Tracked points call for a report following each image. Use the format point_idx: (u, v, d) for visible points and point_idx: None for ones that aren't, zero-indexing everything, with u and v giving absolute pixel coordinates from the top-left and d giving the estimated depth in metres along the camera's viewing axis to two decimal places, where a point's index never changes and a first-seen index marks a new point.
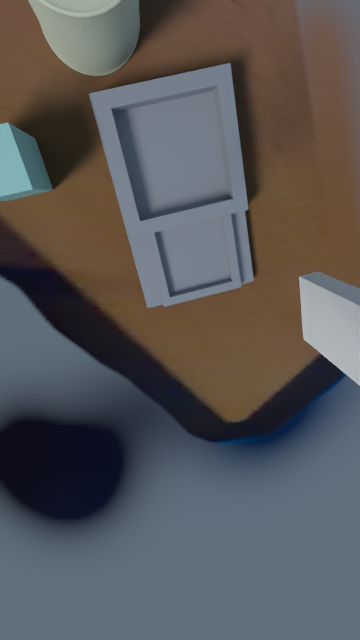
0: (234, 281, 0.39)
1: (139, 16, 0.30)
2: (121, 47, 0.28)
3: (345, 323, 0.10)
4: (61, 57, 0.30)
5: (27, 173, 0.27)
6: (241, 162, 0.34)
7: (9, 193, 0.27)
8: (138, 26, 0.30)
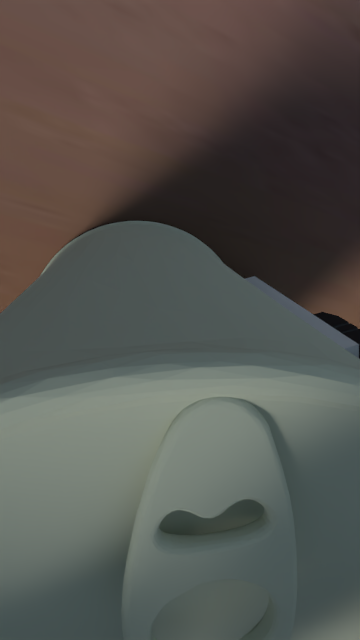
0: None
1: None
2: None
3: None
4: None
5: None
6: None
7: None
8: None
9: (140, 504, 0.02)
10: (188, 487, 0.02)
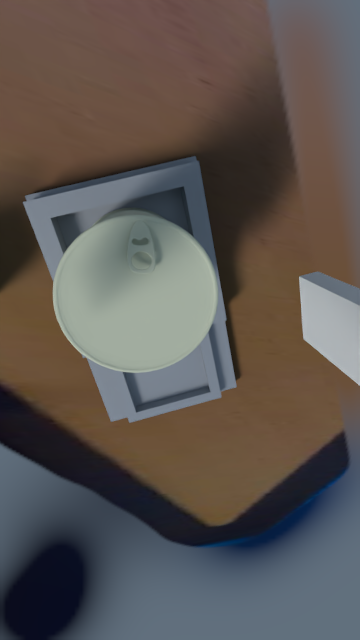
0: (213, 392, 0.33)
1: None
2: None
3: (345, 323, 0.10)
4: None
5: None
6: (216, 270, 0.28)
7: None
8: None
9: (129, 236, 0.16)
10: (135, 233, 0.16)
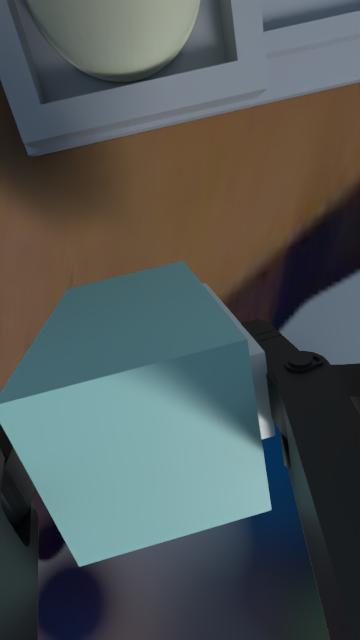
0: None
1: None
2: None
3: None
4: (184, 37, 0.17)
5: (183, 351, 0.06)
6: None
7: (255, 418, 0.07)
8: None
9: None
10: None
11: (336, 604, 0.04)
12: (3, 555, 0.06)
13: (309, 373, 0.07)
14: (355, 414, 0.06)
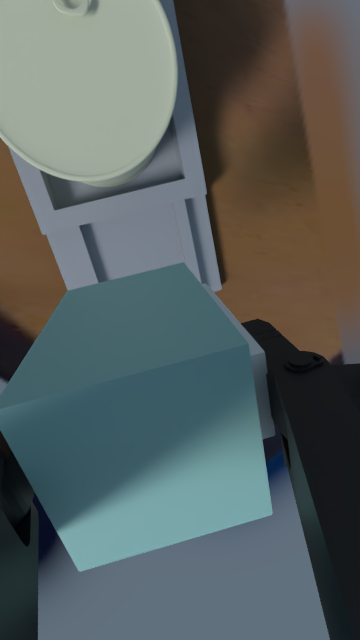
0: None
1: None
2: (142, 165, 0.23)
3: None
4: None
5: (184, 355, 0.06)
6: (193, 126, 0.24)
7: (256, 423, 0.07)
8: None
9: None
10: None
11: (336, 604, 0.04)
12: (3, 555, 0.06)
13: (309, 373, 0.07)
14: (355, 414, 0.06)
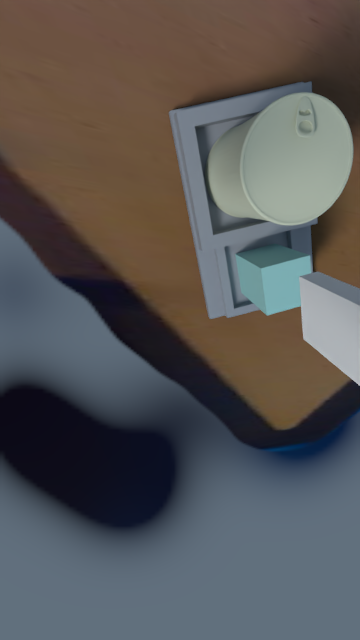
0: None
1: None
2: None
3: (345, 323, 0.10)
4: (223, 209, 0.35)
5: (296, 258, 0.31)
6: None
7: None
8: None
9: (297, 109, 0.23)
10: (302, 106, 0.23)
11: None
12: None
13: None
14: None
